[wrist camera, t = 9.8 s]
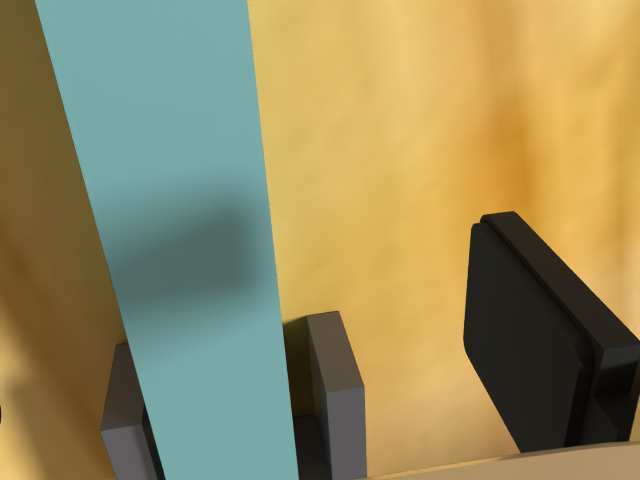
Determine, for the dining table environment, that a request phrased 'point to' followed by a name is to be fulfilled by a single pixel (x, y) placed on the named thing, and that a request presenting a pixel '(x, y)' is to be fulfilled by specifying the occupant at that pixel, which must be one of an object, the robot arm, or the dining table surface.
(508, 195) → the dining table surface
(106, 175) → the slat
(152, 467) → the end cap
